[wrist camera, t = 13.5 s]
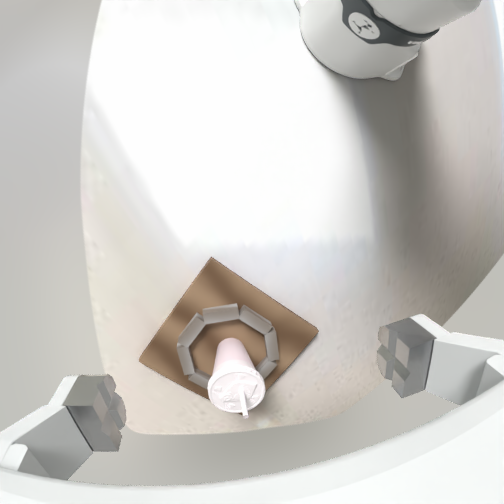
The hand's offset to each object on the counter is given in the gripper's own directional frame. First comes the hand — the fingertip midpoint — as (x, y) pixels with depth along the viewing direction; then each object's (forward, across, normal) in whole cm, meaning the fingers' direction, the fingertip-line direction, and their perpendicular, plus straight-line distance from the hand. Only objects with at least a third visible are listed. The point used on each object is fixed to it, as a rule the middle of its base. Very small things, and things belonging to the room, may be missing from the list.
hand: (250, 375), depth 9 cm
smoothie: (+30, +1, +17) cm, 35 cm away
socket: (+31, +1, +17) cm, 35 cm away
